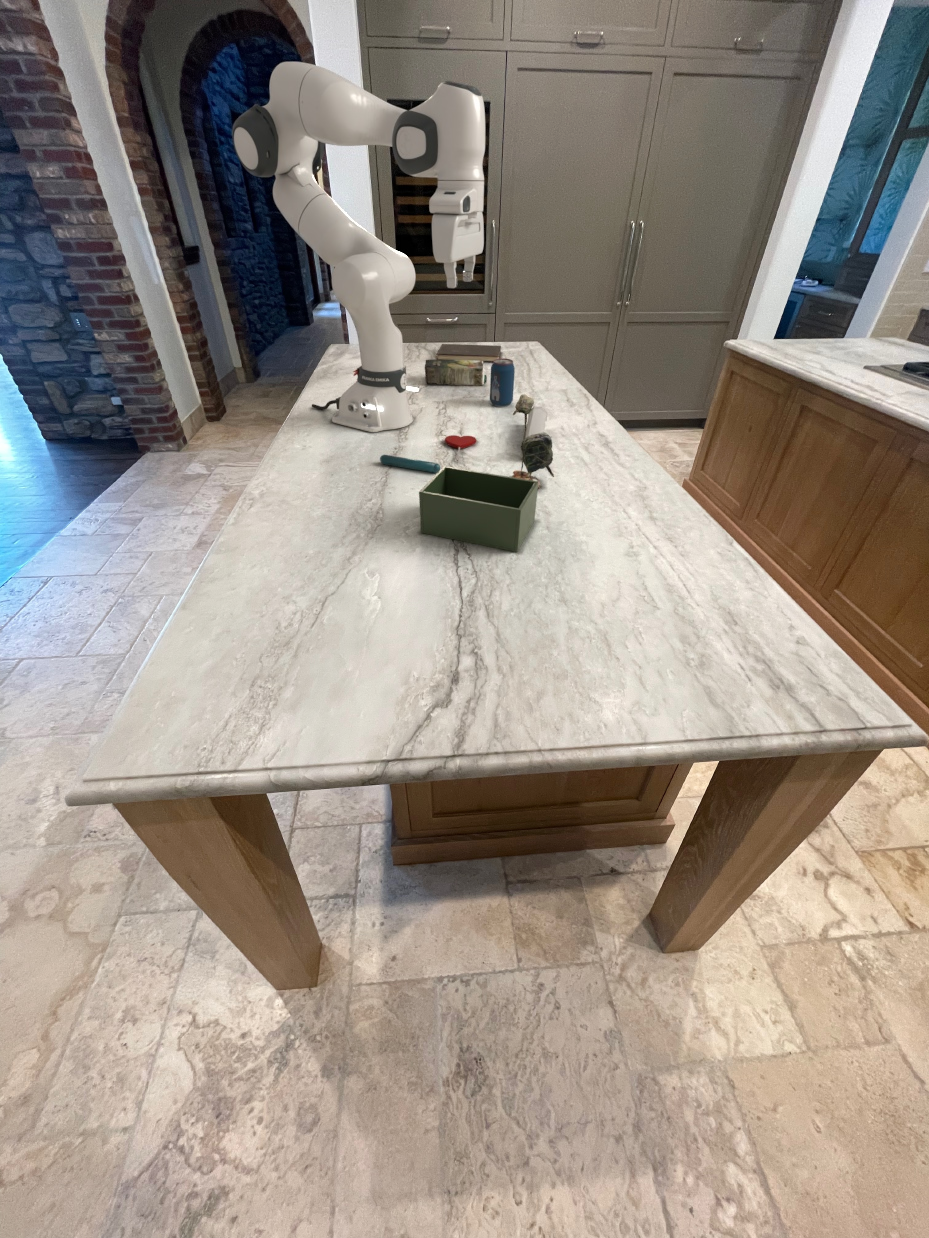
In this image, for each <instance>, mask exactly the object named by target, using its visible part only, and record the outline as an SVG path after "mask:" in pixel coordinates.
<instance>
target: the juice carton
mask: <svg viewBox="0 0 929 1238" xmlns="http://www.w3.org/2000/svg"><path fill="white" fill-rule="evenodd" d="M484 363H485V362H483V361H475V360H437V359H425V364H424V372H425V374H424V375H425V382H426V384H427V385H428V384H433V383H435V384H437V385H438V386H439V385H444V386H445V385H447V386H475V387H476V386H477V387H479V386H484V384H486V383H487V382H488V377H487V374H485V366H484Z"/></svg>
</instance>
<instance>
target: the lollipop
mask: <svg viewBox="0 0 929 1238" xmlns="http://www.w3.org/2000/svg"><path fill="white" fill-rule="evenodd" d="M444 443H445V444H446V445H448V446H449V447H452V448H455V449H457V454H456V462H459V457H460V451H461V449H466V448H469V447H472V446H474V445H475V444H476V443H477V438H476V437H475V436H472V435H462V436H460V435H455V434H453V435H447V436H446V437H445V438H444Z"/></svg>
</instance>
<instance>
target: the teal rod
mask: <svg viewBox="0 0 929 1238" xmlns="http://www.w3.org/2000/svg"><path fill="white" fill-rule="evenodd" d="M379 462H380V463H381V464H382V465H386V466H393V467H398V468H404V469H409V470H410V469H411V470H415V471H416V470H417V471H422V472H427V473H434V474H437V473H438V472H439V471H440V470H441V465H440V464H439V463H438V462H434V461H433V462H432V461H426V460H420V459H415V458H410V457H409V458H408V457H401V456H396V455H390V454H382V455H381V456H380V458H379Z"/></svg>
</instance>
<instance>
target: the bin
mask: <svg viewBox="0 0 929 1238" xmlns="http://www.w3.org/2000/svg"><path fill="white" fill-rule="evenodd" d="M538 489H539V488H538V481H532V480H526V479H520V478H514V477H509V476H507V475H501V474H495V473H490V472H489V473H488V472H483V471H477V470H470V469H465V468H459V467H452V466H447V465H444V466H443V467H442V468H440V471H439V472H437V473H435V475H434V476H433V477H432V478H431V479H430V480H429V481H428V482H427V483H426V484H425V485H424V486H423V487H422V488H421V489H420V490H419V491H418V500H419V501H418V502H419V519H420V520H419V522H420V533H421V534H426V535H430V536H434V537H435V536H436V537H439V538H446V539H451V540H455V541H460V542H465V543H468V544H469V543H470V544H475V545H480V546H483V547H484V546H485V547H489V548H490V547H491V548H495V549H499V550H505V551H508V552H514V553H518V551H519V550H520V548H521V546H523V545H522V544H523V543H524V541H525V539H526V537H527V536H528V533H529V532H530V530H531V528H532V527H533V525H534V523H535V518H536V509H537V499H538Z"/></svg>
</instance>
